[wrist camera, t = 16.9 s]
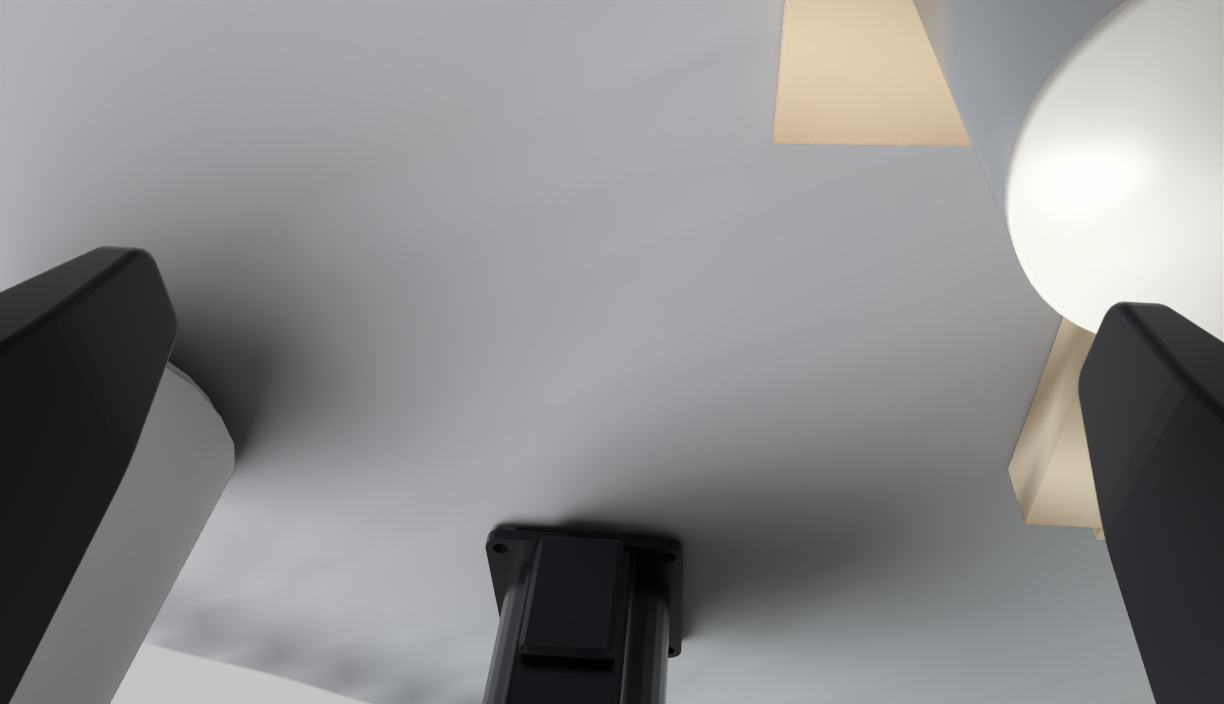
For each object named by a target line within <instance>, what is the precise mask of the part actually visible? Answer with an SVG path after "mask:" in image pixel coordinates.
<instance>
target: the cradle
mask: <svg viewBox="0 0 1224 704" xmlns="http://www.w3.org/2000/svg"><path fill="white" fill-rule="evenodd" d="M1095 336H1096V334H1095V333H1093V332H1091V331H1088V330H1086V329H1084V328H1082V327H1080V326H1078V325H1076V324H1075V323H1073V322H1071V321H1070V320H1068V319H1067V318H1065V317H1064V316H1063V319H1062V321H1061V324H1060V327H1059V330H1058V332H1057V335H1056V338H1055V341H1054V343H1053V346H1052V349H1051V352H1050V354H1049V357H1048V360H1047V363H1046V365H1045V368H1044V371H1043V374H1042V377H1041V379H1040V382H1039V385H1038V388H1037V390H1036V393H1035V396H1034V399H1033V401H1032V404H1031V407H1030V410H1029V412H1028V415H1027V418H1026V421H1025V423H1024V426H1023V429H1022V432H1021V434H1020V437H1019V440H1018V443H1017V445H1016V448H1015V451H1014V454H1013V456H1012V459H1011V462H1010V465H1009V467H1008V471H1009V474H1010V477H1011V481H1012V484H1013V487H1014V490H1015V494H1016V497H1017V500H1018V504H1019V507H1020V510H1021V513H1022V517H1023V520H1024V523H1025V524H1033V525H1054V526H1074V527H1091V528H1092V530H1093V533H1094V536H1095V538H1096V539H1098V540H1105V537H1104V532H1103V527H1102V523H1101V518H1100V513H1099V508H1098V502H1097V497H1096V491H1095V485H1094V480H1093V474H1092V469H1091V463H1090V458H1089V452H1088V446H1087V441H1086V435H1085V430H1084V424H1083V418H1082V413H1081V407H1080V402H1079V396H1078V380H1079V374H1080V370H1081V368H1082V365H1083V363H1084V361H1085V358H1086V356H1087V354H1088V352H1089V349H1090V347H1091V345H1092V342H1093V340H1094V338H1095Z"/></svg>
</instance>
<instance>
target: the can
mask: <svg viewBox="0 0 1224 704" xmlns="http://www.w3.org/2000/svg"><path fill="white" fill-rule="evenodd" d="M234 470H235V456H234V443H233V441H232V439H231V437H230V435H229V433H228V430H227V428H226V426H225V424H224V422H223V420H222V418H221V416H220V415H219V414H218V413H217V412H216V410H215V408H214V406H213V404H212V402H211V400H210V398H209V397H208V396H207V395H206V394H205V393H204V392H203V391H202V389H201V388H200V387H199V386H198V385H197V384H196V383H195V382H194V381H193V379H192V378H191V377H190V376H188V375H187V374H185V373H184V372H183V371H181V370H180V369H179V368H177V367H176V366H174V365H173V364H172V363H170V362H169V361H168V363H167V366H166V368H165V371H164V374H163V377H162V379H161V382H160V385H159V387H158V390H157V393H156V396H155V398H154V401H153V404H152V406H151V409H150V412H149V415H148V417H147V420H146V423H145V425H144V428H143V431H142V434H141V436H140V439H139V442H138V445H137V447H136V450H135V452H134V454H133V457H132V459H131V462H130V464H129V467H128V469H127V471H126V473H125V475H124V477H123V480H122V482H121V484H120V486H119V488H118V490H117V492H116V494H115V496H114V498H113V500H112V502H111V504H110V506H109V508H108V510H107V512H106V514H105V516H104V518H103V520H102V522H101V524H100V526H99V528H98V530H97V532H96V534H95V536H94V538H93V540H92V542H91V543H90V545H89V547H88V549H87V551H86V553H85V555H84V557H83V559H82V561H81V563H80V565H79V567H78V569H77V571H76V573H75V575H74V577H73V579H72V581H71V583H70V585H69V587H68V589H67V591H66V593H65V595H64V597H63V599H62V601H61V603H60V605H59V607H58V609H57V611H56V613H55V615H54V617H53V619H52V621H51V623H50V625H49V627H48V629H47V631H46V633H45V635H44V637H43V639H42V640H41V642H40V644H39V646H38V648H37V650H36V652H35V654H34V656H33V658H32V660H31V662H30V664H29V666H28V668H27V670H26V672H25V674H24V676H23V678H22V680H21V682H20V684H19V686H18V688H17V690H16V692H15V694H14V696H13V698H12V700H11V702H10V704H110V703H111V700H112V699H113V697H114V695H115V693H116V691H117V689H118V688H119V686H120V684H121V682H122V680H123V678H124V676H125V674H126V672H127V671H128V669H129V667H130V665H131V663H132V661H133V659H134V657H135V656H136V654H137V652H138V650H139V648H140V646H141V644H142V642H143V641H144V639H145V637H146V635H147V633H148V631H149V629H150V627H151V626H152V624H153V622H154V620H155V618H156V616H157V614H158V612H159V611H160V609H161V607H162V605H163V603H164V601H165V599H166V597H167V596H168V594H169V592H170V590H171V588H172V586H173V584H174V582H175V581H176V579H177V577H178V575H179V573H180V571H181V569H182V567H183V566H184V564H185V562H186V560H187V558H188V556H189V554H190V552H191V551H192V549H193V547H194V545H195V543H196V541H197V539H198V537H199V535H200V534H201V532H202V530H203V528H204V526H205V524H206V522H207V520H208V519H209V517H210V515H211V513H212V511H213V509H214V507H215V505H216V504H217V502H218V500H219V498H220V496H221V494H222V492H223V490H224V489H225V487H226V485H227V483H228V481H229V479H230V477H231V475H232V474H233V472H234Z"/></svg>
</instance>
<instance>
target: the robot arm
mask: <svg viewBox="0 0 1224 704" xmlns="http://www.w3.org/2000/svg"><path fill="white" fill-rule="evenodd" d="M177 331H178V322H177V316H176V312H175V310H174V307H173V305H172V302H171V299H170V297H169V294H168V292H167V289H166V287H165V284H164V282H163V279H162V276H161V274H160V271H159V269H158V266H157V264H156V262H155V260H154V258H153V256H152V255H151V254H150V253H149V252H148V251H146V250H144V249H142V248H135V247H118V246H104V247H99V248H96V249H94V250H92V251H90V252H87V253H85V254H83V255H81V256H79V257H77V258H74V259H72V260H70V261H68V262H66V263H63V264H61V265H59V266H57V267H55V268H52V269H50V270H48V271H46V272H44V273H41V274H39V275H37V276H35V277H33V278H30V279H28V280H26V281H24V282H22V283H20V284H17V285H15V286H13V287H11V288H9V289H6V290H4V291H2V292H0V704H10V702H11V700H12V698H13V696H14V694H15V692H16V690H17V688H18V686H19V684H20V682H21V680H22V678H23V676H24V674H25V672H26V670H27V668H28V666H29V664H30V662H31V660H32V658H33V656H34V654H35V652H36V650H37V648H38V646H39V644H40V642H41V640H42V639H43V637H44V635H45V633H46V631H47V629H48V627H49V625H50V623H51V621H52V619H53V617H54V615H55V613H56V611H57V609H58V607H59V605H60V603H61V601H62V599H63V597H64V595H65V593H66V591H67V589H68V587H69V585H70V583H71V581H72V579H73V577H74V575H75V573H76V571H77V569H78V567H79V565H80V563H81V561H82V559H83V557H84V555H85V553H86V551H87V549H88V547H89V545H90V543H91V542H92V540H93V538H94V536H95V534H96V532H97V530H98V528H99V526H100V524H101V522H102V520H103V518H104V516H105V514H106V512H107V510H108V508H109V506H110V504H111V502H112V500H113V498H114V496H115V494H116V492H117V490H118V488H119V486H120V484H121V482H122V480H123V477H124V475H125V473H126V471H127V469H128V467H129V464H130V462H131V459H132V457H133V454H134V452H135V450H136V447H137V445H138V442H139V439H140V436H141V434H142V431H143V428H144V425H145V423H146V420H147V417H148V415H149V412H150V409H151V406H152V404H153V401H154V398H155V396H156V393H157V390H158V387H159V385H160V382H161V379H162V377H163V374H164V371H165V368H166V366H167V363H168V360H169V358H170V355H171V352H172V349H173V347H174V344H175V341H176V337H177ZM1078 396H1079V402H1080V407H1081V413H1082V418H1083V424H1084V430H1085V435H1086V441H1087V446H1088V452H1089V458H1090V463H1091V469H1092V474H1093V480H1094V485H1095V491H1096V497H1097V502H1098V508H1099V513H1100V518H1101V523H1102V527H1103V532H1104V537H1105V540H1106V544H1107V547H1108V551H1109V554H1110V558H1111V561H1112V565H1113V568H1114V571H1115V574H1116V577H1117V581H1118V584H1119V587H1120V590H1121V593H1122V597H1123V600H1124V603H1125V606H1126V609H1127V612H1128V616H1129V619H1130V622H1131V625H1132V628H1133V632H1134V635H1135V638H1136V641H1137V644H1138V648H1139V651H1140V654H1141V657H1142V660H1143V663H1144V667H1145V670H1146V673H1147V676H1148V679H1149V683H1150V686H1151V689H1152V692H1153V695H1154V699H1155V702H1156V704H1224V342H1223V341H1221V340H1219V339H1218V338H1216V337H1215V336H1213V335H1212V334H1210V333H1209V332H1207V331H1206V330H1204V329H1202V328H1201V327H1199V326H1198V325H1196V324H1195V323H1193V322H1192V321H1190V320H1189V319H1187V318H1186V317H1184V316H1182V315H1181V314H1179V313H1178V312H1176V311H1175V310H1173V309H1172V308H1170V307H1168V306H1166V305H1164V304H1160V303H1144V302H1125V301H1122V302H1118V303H1116V304H1114V305H1112V306H1111V307H1110V308H1109V309H1108V311H1107V312H1106V314H1105V316H1104V318H1103V320H1102V322H1101V324H1100V327H1099V329H1098V331H1097V333H1096V336H1095V338H1094V340H1093V342H1092V345H1091V347H1090V349H1089V352H1088V354H1087V356H1086V358H1085V361H1084V363H1083V365H1082V368H1081V370H1080V374H1079V380H1078ZM486 552H487V557H488V562H489V567H490V572H491V577H492V582H493V587H494V592H495V597H496V602H497V607H498V611H499V616H500V621H499V626H498V631H497V636H496V640H495V645H494V650H493V655H492V659H491V664H490V669H489V674H488V678H487V683H486V688H485V693H484V697H483V702H482V704H665V703H666V683H667V664H668V658H673V657H676V656H678V655H679V654H680V653H681V643H682V603H683V561H684V547H683V544H682V543H681V542H680V541H677V540H675V539H671V538H658V537H639V536H620V535H601V534H582V533H563V532H544V531H525V530H506V529H498V530H493V531H491V532H490V533H489V534H488V538H487V542H486Z"/></svg>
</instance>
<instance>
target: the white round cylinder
mask: <svg viewBox="0 0 1224 704" xmlns="http://www.w3.org/2000/svg"><path fill="white" fill-rule="evenodd" d="M913 3H914V5H915V7H916V10H917V12H918V15H919V17H920V20H921V22H922V24H923V27H924V29H925V32H926V34H927V37H928V39H929V42H930V44H931V46H932V49H933V51H934V54H935V56H936V59H937V61H938V63H939V66H940V68H941V71H942V73H943V76H944V78H945V81H946V83H947V85H948V88H949V90H950V93H951V95H952V98H953V100H954V102H955V105H956V107H957V110H958V112H959V115H960V117H961V120H962V122H963V124H964V127H965V129H966V132H967V134H968V137H969V139H970V142H971V144H972V146H973V149H974V151H975V154H976V156H977V159H978V161H979V163H980V166H981V168H982V171H983V173H984V176H985V178H986V181H987V183H988V185H989V188H990V190H991V193H992V195H993V198H994V200H995V202H996V205H997V207H998V210H999V212H1000V215H1001V217H1002V220H1003V222H1004V224H1005V227H1006V229H1007V232H1008V234H1009V237H1010V239H1011V241H1012V244H1013V246H1014V249H1015V251H1016V254H1017V256H1018V259H1019V261H1020V263H1021V266H1022V267H1023V269H1024V271H1025V273H1026V275H1027V277H1028V279H1029V281H1030V283H1031V284H1032V285H1033V287H1034V288H1035V289H1036V290H1037V292H1038V293H1039V294H1040V295H1041V297H1042V298H1043V299H1044V300H1045V301H1046V302H1047V303H1048V304H1049V305H1050V306H1051V307H1053V308H1054V309H1055V310H1056V311H1057V312H1058V313H1059V314H1061V315H1062V316H1064V317H1065V318H1067V319H1068V320H1070V321H1071V322H1073V323H1075V324H1076V325H1078V326H1080V327H1082V328H1084V329H1086V330H1088V331H1091V332H1093V333H1095V334H1096V333H1097V331H1098V329H1099V327H1100V324H1101V322H1102V320H1103V318H1104V316H1105V314H1106V312H1107V311H1108V309H1109V308H1110V307H1111V306H1112V305H1114V304H1116V303H1118V302H1122V301H1125V302H1144V303H1160V304H1164V305H1166V306H1168V307H1170V308H1172V309H1173V310H1175V311H1176V312H1178V313H1179V314H1181V315H1182V316H1184V317H1186V318H1187V319H1189V320H1190V321H1192V322H1193V323H1195V324H1196V325H1198V326H1199V327H1201V328H1202V329H1204V330H1206V331H1207V332H1209V333H1210V334H1212V335H1213V336H1215V337H1216V338H1218V339H1219V340H1221V341H1223V342H1224V0H913Z"/></svg>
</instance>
